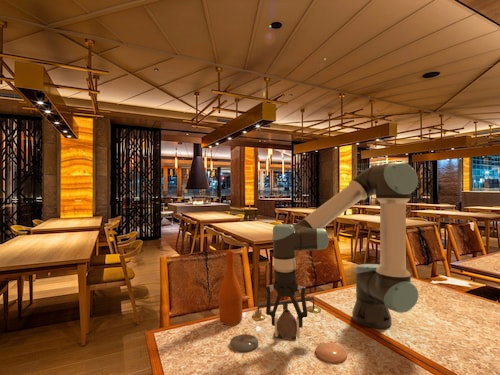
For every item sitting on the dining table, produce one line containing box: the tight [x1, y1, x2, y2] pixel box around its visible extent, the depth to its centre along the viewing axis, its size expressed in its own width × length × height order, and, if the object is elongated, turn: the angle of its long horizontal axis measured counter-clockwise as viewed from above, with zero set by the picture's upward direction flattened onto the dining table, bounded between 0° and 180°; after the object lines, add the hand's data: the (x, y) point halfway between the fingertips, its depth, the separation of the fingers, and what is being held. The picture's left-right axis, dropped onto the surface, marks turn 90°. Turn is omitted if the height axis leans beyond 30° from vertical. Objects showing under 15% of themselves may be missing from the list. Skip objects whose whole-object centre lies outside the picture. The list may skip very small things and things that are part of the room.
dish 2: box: [315, 342, 348, 364], centre depth 93 cm, size 10×10×1 cm
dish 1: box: [229, 333, 259, 353], centre depth 100 cm, size 10×10×1 cm
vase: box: [277, 309, 297, 340], centre depth 97 cm, size 7×7×9 cm
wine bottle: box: [218, 249, 243, 326], centre depth 118 cm, size 10×10×30 cm
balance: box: [251, 296, 322, 341], centre depth 106 cm, size 26×5×15 cm, turn 77°
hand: (287, 335), depth 97 cm, fingers closed on vase, 7 cm apart
